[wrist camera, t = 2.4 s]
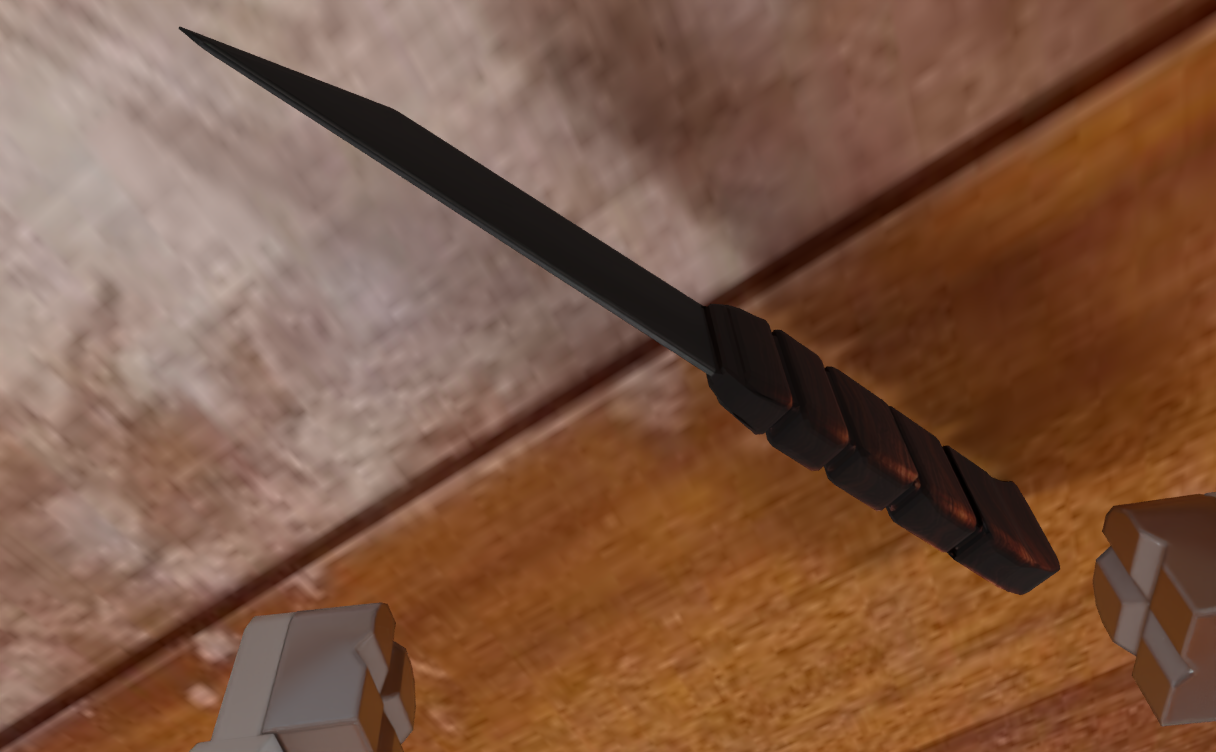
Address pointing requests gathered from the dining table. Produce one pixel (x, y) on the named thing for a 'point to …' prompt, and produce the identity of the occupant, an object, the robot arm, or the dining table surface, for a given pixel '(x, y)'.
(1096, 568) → the robot arm
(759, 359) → the knife
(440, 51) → the dining table surface
